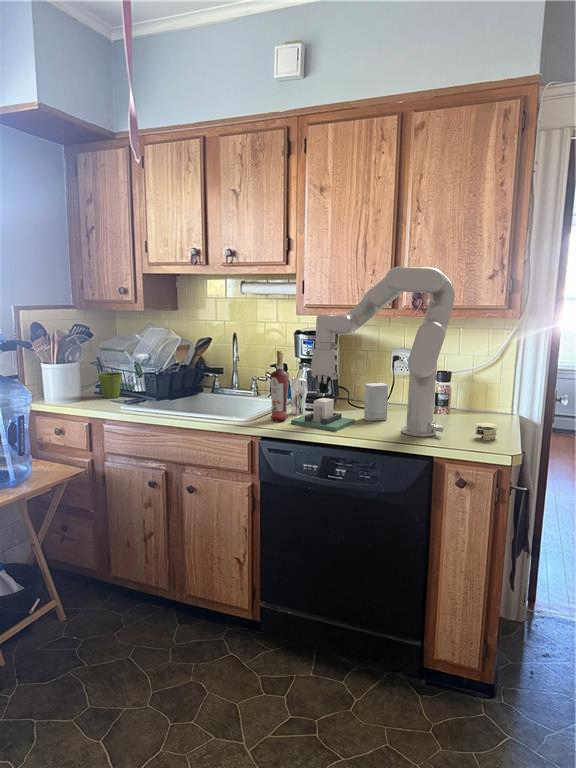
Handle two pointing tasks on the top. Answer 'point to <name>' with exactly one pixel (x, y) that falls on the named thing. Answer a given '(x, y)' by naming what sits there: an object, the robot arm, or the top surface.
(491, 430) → the stacked layers on plate
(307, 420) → the socket board
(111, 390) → the plant pot
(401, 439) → the top surface
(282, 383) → the liquor
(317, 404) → the keyed plug
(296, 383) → the beer glass
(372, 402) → the skincare box
